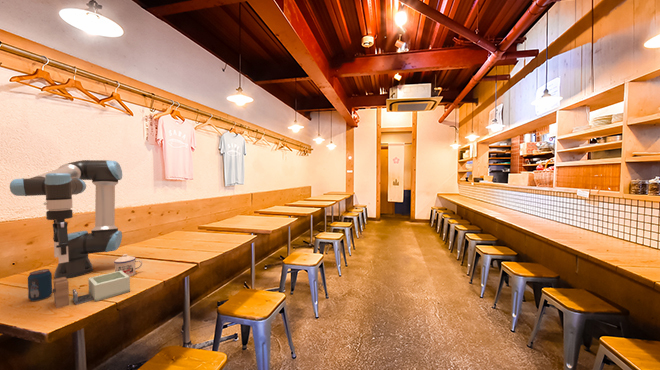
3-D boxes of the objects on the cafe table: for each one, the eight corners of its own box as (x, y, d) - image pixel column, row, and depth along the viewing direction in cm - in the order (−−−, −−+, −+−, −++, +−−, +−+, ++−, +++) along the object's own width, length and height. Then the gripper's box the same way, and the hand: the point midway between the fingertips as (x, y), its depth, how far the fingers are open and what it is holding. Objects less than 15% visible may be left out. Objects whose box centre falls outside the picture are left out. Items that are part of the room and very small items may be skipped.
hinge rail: (72, 299, 109) (71, 288, 109) (90, 294, 113) (89, 284, 113) (75, 305, 104) (74, 293, 104) (93, 299, 109) (93, 288, 108)
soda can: (51, 293, 116) (51, 267, 116) (52, 297, 111) (51, 270, 111) (28, 298, 110) (27, 271, 110) (28, 303, 106) (27, 275, 106)
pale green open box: (88, 293, 115) (88, 278, 115) (121, 284, 125) (121, 270, 125) (95, 301, 107) (94, 285, 107) (130, 291, 116) (129, 276, 116)
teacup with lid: (114, 280, 130) (113, 258, 130) (114, 275, 137) (114, 254, 137) (143, 274, 138) (142, 253, 138) (142, 270, 145) (141, 250, 145)
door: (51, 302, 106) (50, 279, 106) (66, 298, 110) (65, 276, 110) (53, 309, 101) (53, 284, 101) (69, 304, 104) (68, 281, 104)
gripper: (43, 208, 110) (44, 256, 110) (49, 212, 95) (51, 267, 95) (67, 207, 116) (69, 252, 116) (77, 210, 101) (79, 262, 101)
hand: (61, 259), depth 106 cm, fingers open, 13 cm apart
